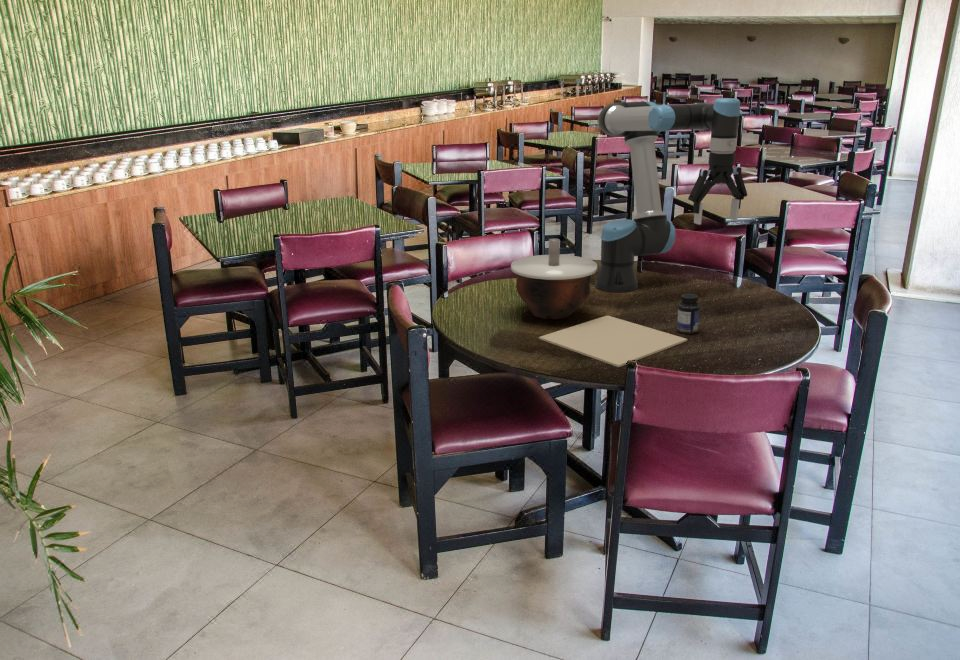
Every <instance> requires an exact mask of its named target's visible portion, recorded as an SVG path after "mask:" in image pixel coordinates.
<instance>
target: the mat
mask: <svg viewBox="0 0 960 660" xmlns="http://www.w3.org/2000/svg"><path fill="white" fill-rule="evenodd" d="M538 339H539V340H541V341H544V342H547V343H549V344H552V345H555V346H558V347H561V348H564V349H566V350H569V351H571V352H575V353H577V354H580V355H583V356H586V357H587V358H588V357H589V358H592V359H594V360H597V361H600V362H602V363H605V364H609V365H611V366H614V367H616V368H620V367H623V366H626V365H627V364H626V363H627V361H628V360H635V361H634V362H636V361H638V360H641V359H644V358H647V357H649V356H651V355H654V354H657V353H659V352H661V351H662V352H663V351H665V350H668V349H669V348H673V347H675V346H677V345H680V344H683V343H685V342H688V338H684V337H682V336H680V335H679V336H677V335H675V334H671V333H670V332H669V333H668V332H664V331H661V330H658V329H655V328H651V327H648V326H645V325H641V324H638V323H634V322H631V321H627V320H625V319H621V318H617V317H615V316H610V315H605V316H601V317H598V318H595V319H591V320H589V321H586V322H582V323H580V324H576V325H572V326H570V327H565V328H562V329H560V330H557V331H554V332H550V333H547V334H544V335H541V336H538Z"/></svg>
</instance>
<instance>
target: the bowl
mask: <svg viewBox="0 0 960 660" xmlns="http://www.w3.org/2000/svg"><path fill="white" fill-rule="evenodd" d="M591 277H592V275H589V276H586V277H582V278H575V279H565V280H545V279H535V278H528V277H524V276H520V275H518V274H516V284H515V285H516V287H515V288H516V292H517V294H518V296H519V297H520V298H521V300H522V301H523V303H524V304H525V305H526V307H527V308H528V309H529V310H530V311H531V313H532V314H533V316H534V317H536V318H539V319H545V320H550V319H551V320H554V321H556V320H563V319H565V318H568V317H570V316H571V315H572V314H573V313H574V312H575V311H576V310H577V309H578V308H579V307H581V305H582V304H583V303H584V302H586V300H587V299H588V298H589V296H590V292H591V286H590V284H591Z"/></svg>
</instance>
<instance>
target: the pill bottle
mask: <svg viewBox="0 0 960 660" xmlns="http://www.w3.org/2000/svg"><path fill="white" fill-rule="evenodd" d="M698 300H699V295H697V294H693V293H684V294H682V295H681V297H680V301H681V302H679V303H678V307H677V319H676V320H677V321H676V331H677V332H679V333H680V334H683V335H695V334H696V333H698V332H699V320H700V304H699V303H698Z"/></svg>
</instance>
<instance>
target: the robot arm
mask: <svg viewBox="0 0 960 660" xmlns="http://www.w3.org/2000/svg"><path fill="white" fill-rule="evenodd" d="M740 115H741V101H740V99H738V98H735V97H734V98H731V97H730V98H729V97H719V98H715V99H714V102H713V104H712V103H707V102H695V103H689V104H687V103H685V104H659V105H657V103H655V102H654V101H653V102H652V101H645V100H641V101H629V102H627V101H626V102H624V101H623V102H621V101H619V102H612V103H609V104H608V105H605V106H604V107H603V108H602V109H601V111H600V112H599V114H598V118H597V122H598V127H599V128H600V130H601V131H602V132H603V133H604V134H606V135H607V136H610V137H615V138H616V137H624V144H625V145H626V146H627V147H629V151H630V162H631V172H632V178H633V180H632V181H633V188H634V196H635V207H636V208H635V209H636V215H635V216H634V217H633V219H628V218H627V219H616V220H611V221H608V222H607V223H605V224H604V225H603V226H602V229H601V235H600V239H601V240H600V241H601V245H600V265H599V269H598V270H597V275H596V277H595V280H594V287H595V288H596V289H597V290H600V291H603V292H604V291H605V292H612V293H626V292H632V291H635V290H637V289H638V288H639V287H638V285H639V281H638V278H637V272H636V270H635V258H636V257H642V256H651V255H656V256H657V255H661V254H665V253H667V252H669V251H670V250H671V249H672V247H673V245H674V243H675V241H676V227H675V225H674V223H673V222H672V221H671V220H669V219H668V217H667V214H666V213H665V212H664V211H663V209H662V203H661V193H660V183H659V176H658V174H659V173H658V167H657V156H656V146H655V143H656V142H657V140H658V139H659V134H660V133H661V132H668V131H669V132H670V131H686V130H690V131H691V130H710V141H709V142H710V143H709V151H710V153H708V166H709V167H708V169H703V168H701V169H699V172H698V177H697V178H696V181H695V182H694V186H693V187H692V189H691V191H690V193H689V196H688V198H687V199H688V201H691V202H692V203H693V206H692V207H693V208H692V213H693V215H694V217H693V224H696V225H699V226H700V225H702V220H703V206H704V203H703V202H702V201H703V199H704V198H705V197H706V196H707V194H708V193H709V192H710V190H711V189H712V187H714V186H715V185H716V184H717V185H718V184H725V185H726V186H727V188H728V189H729V191H730V193H731V195H732V198H731V201H730V203H731V205H730V212H729V220H732V221H734V222H736V221H738V218H739V217H738V216H739V210H740V209H741V203H742V200H744V199H745V198H746V197H747V196H748V191H747V189H746V184H745V182H744V178H743V175H742V171H743V170H742V167H740V166H734V165H735V163H736V162H735V160H736V153H735V151H736V150H737V141H738V131H739V122H740ZM732 176H733V177H732Z"/></svg>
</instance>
